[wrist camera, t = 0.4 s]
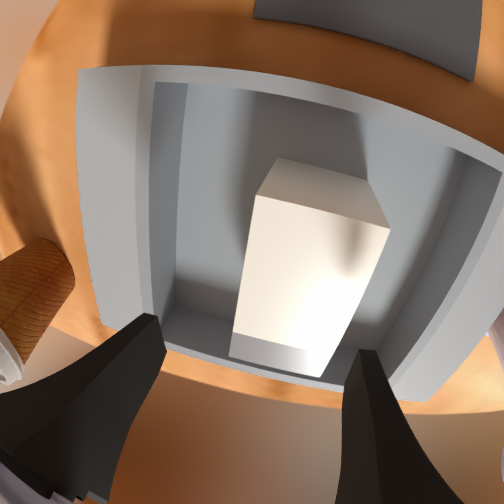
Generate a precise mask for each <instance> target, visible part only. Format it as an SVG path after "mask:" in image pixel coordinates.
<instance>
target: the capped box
mask: <svg viewBox="0 0 504 504" xmlns="http://www.w3.org/2000/svg"><path fill="white" fill-rule="evenodd" d="M390 230H391V229H390V226H389V224H388V222H387V220H386V217H385V215H384V213H383V211H382V209H381V206H380V204H379V202H378V200H377V198H376V196H375V194H374V192H373V190H372V188H371V186H370V184H369V182H368V180H365V179H362V178H358V177H355V176H351V175H347V174H344V173H340V172H336V171H333V170H329V169H325V168H321V167H317V166H313V165H309V164H305V163H300V162H296V161H292V160H287V159H283V158H278V157H277V159H276V161H275V163H274V164H273V166H272V168H271V169H270V171H269V173H268V175H267V176H266V178H265V180H264V181H263V183H262V185H261V187H260V188H259V190H258V192H257V194H256V196H255V202H254V208H253V214H252V220H251V225H250V231H249V237H248V243H247V249H246V255H245V261H244V267H243V273H242V279H241V284H240V290H239V296H238V302H237V308H236V314H235V320H234V326H233V332H232V338H231V344H230V351H229V357H233V358H237V359H240V360H244V361H248V362H252V363H256V364H260V365H264V366H268V367H272V368H277V369H281V370H285V371H290V372H295V373H299V374H304V375H309V376H314V377H319V378H320V376H321V375H322V373H323V371H324V369H325V368H326V366H327V364H328V362H329V361H330V359H331V357H332V355H333V353H334V351H335V350H336V348H337V346H338V344H339V342H340V340H341V338H342V336H343V334H344V332H345V330H346V328H347V327H348V325H349V323H350V321H351V319H352V317H353V314H354V312H355V310H356V308H357V306H358V304H359V302H360V300H361V298H362V296H363V294H364V291H365V289H366V287H367V285H368V283H369V280H370V278H371V276H372V274H373V271H374V269H375V267H376V264H377V262H378V260H379V257H380V255H381V253H382V250H383V248H384V245H385V243H386V240H387V238H388V235H389V233H390Z"/></svg>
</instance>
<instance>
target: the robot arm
mask: <svg viewBox="0 0 504 504" xmlns="http://www.w3.org/2000/svg"><path fill="white" fill-rule="evenodd" d="M484 336H488V337H490V339H491V341H492V344H493V346H494V348H495V351H496V353H497V356H498V358H499V361H500V363H501V366H502V369H503V371H504V308H503V309H502V311H501V312H500V314H499V315H498V317H497V318H496V320H495V321H494V323H493V324H492V325H491V327H490V328H489V330H488V331H487V332H486V334H485V335H484ZM166 353H167V350H166V347H165V343H164V339H163V335H162V331H161V327H160V323H159V319H158V316H156V315H152V314H148V313H142V314H141V315H140V316H138V317H137V318H135V319H134V320H133V321H132V322H130V323H129V324H128V325H126V326H125V327H124V328H122V329H121V330H120V331H118V332H117V333H116V334H114V335H113V336H112V337H110V338H109V339H108V340H106V341H105V342H104V343H102V344H101V345H100V346H98V347H97V348H95V349H94V350H92V351H91V352H89V353H88V354H86V355H85V356H83V357H82V358H80V359H79V360H77V361H76V362H74V363H73V364H71V365H69V366H67V367H66V368H64V369H62V370H60V371H58V372H56V373H55V374H52V375H50V376H48V377H46V378H44V379H42V380H39V381H37V382H35V383H33V384H30V385H27V386H25V387H22V388H19V389H16V390H13V391H9V392H5V393H1V394H0V504H74V503H73V501H74V499H75V497H76V498H78V499H79V500H81V501H84V500H85V498H86V496H87V497H89V498H90V499H92V500H94V501H96V502H98V503H100V504H103V503H107V502H108V501H109V496H110V491H111V487H112V482H113V478H114V474H115V470H116V467H117V463H118V460H119V457H120V454H121V451H122V448H123V445H124V443H125V440H126V437H127V434H128V432H129V429H130V427H131V425H132V423H133V420H134V418H135V416H136V415H137V413H138V411H139V409H140V407H141V405H142V403H143V401H144V400H145V398H146V396H147V394H148V392H149V391H150V389H151V387H152V385H153V383H154V381H155V379H156V378H157V376H158V374H159V371H160V369H161V366H162V364H163V361H164V358H165V355H166ZM502 475H503V480H504V448H503V454H502ZM335 504H464V503H463V502H462V501H461V500H460V499H459V498H458V496H457V495H456V494H455V493H454V492H453V491H452V489H451V488H450V487H449V486H448V485H447V483H446V482H445V481H444V479H443V478H442V477H441V475H440V474H439V473H438V471H437V470H436V469H435V467H434V466H433V464H432V463H431V462H430V460H429V458H428V457H427V455H426V454H425V452H424V451H423V449H422V448H421V446H420V444H419V443H418V441H417V439H416V437H415V435H414V434H413V432H412V430H411V428H410V426H409V424H408V422H407V420H406V418H405V416H404V414H403V412H402V410H401V408H400V406H399V404H398V402H397V399H396V397H395V395H394V393H393V391H392V388H391V386H390V384H389V381H388V379H387V377H386V374H385V372H384V369H383V367H382V364H381V362H380V359H379V356H378V354H377V352H376V351H375V350H367V349H358V351H357V354H356V356H355V359H354V361H353V364H352V366H351V369H350V371H349V373H348V376H347V378H346V380H345V383H344V392H343V402H342V456H341V472H340V478H339V484H338V490H337V495H336V501H335Z"/></svg>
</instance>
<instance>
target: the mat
mask: <svg viewBox="0 0 504 504" xmlns="http://www.w3.org/2000/svg"><path fill="white" fill-rule="evenodd" d="M253 17H254V18H255V19H264V20H272V21H280V22H287V23H293V24H299V25H305V26H310V27H315V28H320V29H325V30H329V31H334V32H338V33H342V34H346V35H350V36H354V37H357V38H361V39H364V40H368V41H371V42H374V43H377V44H381V45H384V46H387V47H390V48H393V49H395V50H398V51H401V52H404V53H406V54H409V55H412V56H414V57H417V58H419V59H422V60H424V61H426V62H429V63H431V64H433V65H436V66H438V67H440V68H442V69H444V70H447V71H449V72H451V73H453V74H455V75H457V76H459V77H461V78H463V79H465V80H467V81H469V82H473V80H474V74H475V69H476V62H477V55H478V48H479V40H480V30H481V18H482V0H256V4H255V9H254V15H253Z"/></svg>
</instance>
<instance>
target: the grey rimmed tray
mask: <svg viewBox="0 0 504 504" xmlns="http://www.w3.org/2000/svg"><path fill="white" fill-rule="evenodd" d="M76 154H77V173H78V187H79V198H80V208H81V217H82V225H83V232H84V239H85V245H86V252H87V257H88V263H89V268H90V274H91V279H92V284H93V288H94V293H95V297H96V302H97V306H98V310H99V314H100V318H101V322H102V324H103V325H105V326H108V327H110V328H113V329H115V330H118V331H120V330H121V329H122V328H124V327H125V326H126V325H128V324H129V323H130V322H132V321H133V320H134V319H135V318H137V317H138V316H140V315H141V314H142V313H148V314H152V315H156V316H158V319H159V323H160V327H161V331H162V335H163V339H164V343H165V347H166V349H169V350H172V351H175V352H178V353H181V354H184V355H188V356H191V357H194V358H197V359H200V360H204V361H207V362H210V363H214V364H217V365H221V366H224V367H228V368H231V369H235V370H239V371H243V372H247V373H250V374H254V375H258V376H263V377H267V378H271V379H275V380H280V381H284V382H289V383H294V384H298V385H303V386H308V387H314V388H319V389H325V390H330V391H336V392H342V393H343V392H344V383H345V380H346V378H347V376H348V373H349V371H350V369H351V366H352V364H353V361H354V359H355V356H356V354H357V351H358V349H367V350H375V351H376V352H377V354H378V356H379V359H380V362H381V364H382V367H383V369H384V372H385V374H386V377H387V379H388V381H389V384H390V386H391V388H392V391H393V393H394V395H395V397H396V399H397V400H406V401H418V402H427V401H428V400H429V399H430V398H431V397H432V396H433V395H434V394H435V393H436V392H437V391H438V390H439V389H440V388H441V386H442V385H443V384H444V383H445V382H446V381H447V380H448V379H449V378H450V377H451V376H452V374H453V373H454V372H455V371H456V370H457V369H458V368H459V366H460V365H461V364H462V363H463V362H464V360H465V359H466V358H467V357H468V356H469V354H470V353H471V352H472V351H473V349H474V348H475V347H476V346H477V344H478V343H479V342H480V340H481V339H482V338H483V336H484V335H485V334H486V332H487V331H488V330H489V328H490V327H491V325H492V324H493V323H494V321H495V320H496V318H497V317H498V315H499V314H500V312H501V311H502V309H503V308H504V155H503V154H502V153H500V152H498V151H496V150H494V149H493V148H491V147H489V146H487V145H485V144H483V143H481V142H480V141H478V140H476V139H474V138H472V137H470V136H468V135H465V134H463V133H461V132H459V131H457V130H455V129H453V128H451V127H448V126H446V125H444V124H442V123H439V122H437V121H435V120H432V119H430V118H427V117H425V116H422V115H420V114H417V113H415V112H412V111H409V110H407V109H404V108H401V107H398V106H396V105H393V104H390V103H387V102H384V101H381V100H378V99H374V98H371V97H368V96H365V95H361V94H358V93H354V92H351V91H347V90H344V89H340V88H336V87H332V86H328V85H324V84H319V83H315V82H310V81H306V80H301V79H296V78H291V77H285V76H280V75H274V74H268V73H261V72H254V71H246V70H238V69H229V68H218V67H205V66H188V65H126V66H109V67H97V68H86V69H78V81H77V100H76ZM277 157H278V158H283V159H287V160H292V161H296V162H300V163H305V164H309V165H313V166H317V167H321V168H325V169H329V170H333V171H336V172H340V173H344V174H347V175H351V176H355V177H358V178H362V179H365V180H368V182H369V184H370V186H371V188H372V190H373V192H374V194H375V196H376V198H377V200H378V202H379V204H380V206H381V209H382V211H383V213H384V215H385V217H386V220H387V222H388V224H389V226H390V229H391V230H390V233H389V235H388V238H387V240H386V243H385V245H384V248H383V250H382V253H381V255H380V257H379V260H378V262H377V264H376V267H375V269H374V271H373V274H372V276H371V278H370V280H369V283H368V285H367V287H366V289H365V291H364V294H363V296H362V298H361V300H360V302H359V304H358V306H357V308H356V310H355V312H354V314H353V317H352V319H351V321H350V323H349V325H348V327H347V328H346V330H345V332H344V334H343V336H342V338H341V340H340V342H339V344H338V346H337V348H336V350H335V351H334V353H333V355H332V357H331V359H330V361H329V362H328V364H327V366H326V368H325V369H324V371H323V373H322V375H321V376H320V378H319V377H314V376H309V375H304V374H299V373H295V372H290V371H285V370H281V369H277V368H272V367H268V366H264V365H260V364H256V363H252V362H248V361H244V360H240V359H237V358H233V357H229V351H230V344H231V338H232V332H233V326H234V320H235V314H236V308H237V302H238V296H239V290H240V284H241V279H242V273H243V267H244V261H245V255H246V249H247V243H248V237H249V231H250V225H251V220H252V214H253V208H254V202H255V196H256V194H257V192H258V190H259V188H260V187H261V185H262V183H263V181H264V180H265V178H266V176H267V175H268V173H269V171H270V169H271V168H272V166H273V164H274V163H275V161H276V159H277Z"/></svg>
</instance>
